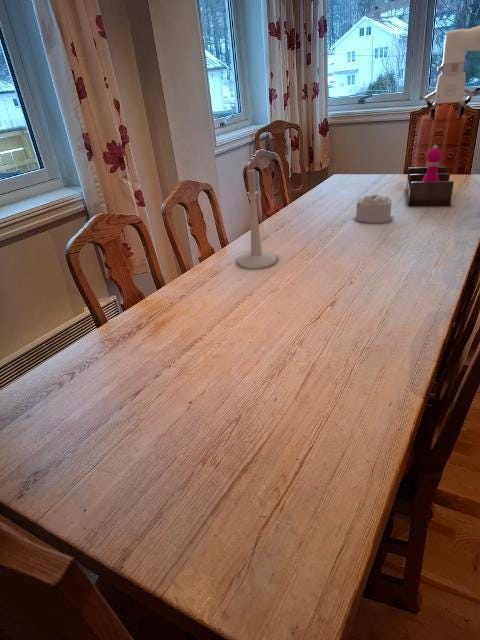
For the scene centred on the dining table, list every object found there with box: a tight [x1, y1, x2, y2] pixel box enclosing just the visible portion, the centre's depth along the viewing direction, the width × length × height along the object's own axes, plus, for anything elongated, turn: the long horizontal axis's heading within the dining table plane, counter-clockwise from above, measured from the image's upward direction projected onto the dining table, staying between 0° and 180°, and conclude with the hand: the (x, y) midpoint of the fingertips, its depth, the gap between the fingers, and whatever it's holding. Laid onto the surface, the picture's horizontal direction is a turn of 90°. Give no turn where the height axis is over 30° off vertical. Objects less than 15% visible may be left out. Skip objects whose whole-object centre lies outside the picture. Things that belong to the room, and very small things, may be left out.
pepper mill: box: [422, 144, 443, 182], centre depth 178 cm, size 7×7×20 cm
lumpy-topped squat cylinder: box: [355, 193, 392, 224], centre depth 169 cm, size 10×13×9 cm
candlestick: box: [237, 169, 277, 270], centre depth 137 cm, size 13×13×30 cm
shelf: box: [405, 166, 455, 207], centre depth 188 cm, size 16×28×10 cm, turn 163°
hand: (446, 118), depth 169 cm, fingers open, 9 cm apart
